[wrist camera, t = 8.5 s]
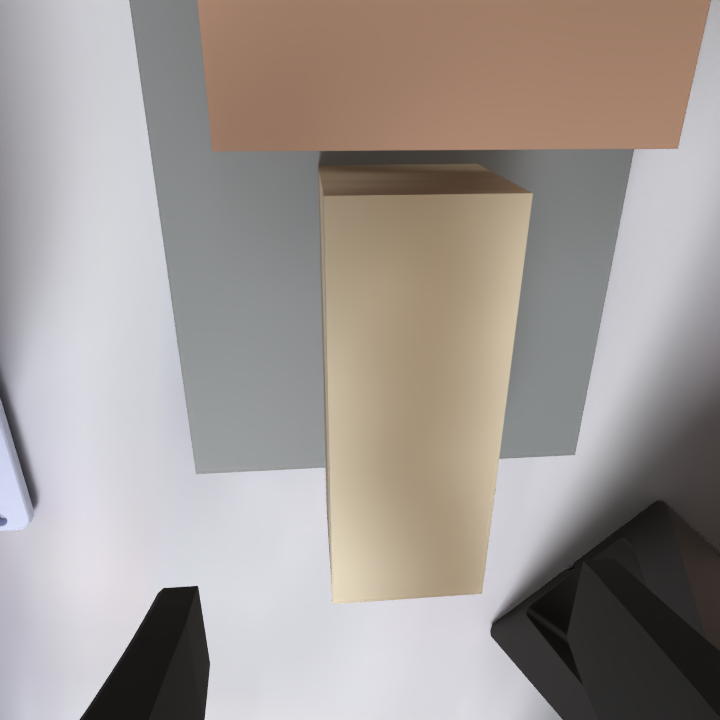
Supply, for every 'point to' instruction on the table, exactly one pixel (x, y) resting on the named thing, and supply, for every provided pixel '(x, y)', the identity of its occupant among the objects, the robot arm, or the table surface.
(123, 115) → the table surface
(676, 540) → the phone stand
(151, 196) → the table surface
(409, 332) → the block
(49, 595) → the table surface
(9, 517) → the robot arm
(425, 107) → the tunnel
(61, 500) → the table surface
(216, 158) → the deck
